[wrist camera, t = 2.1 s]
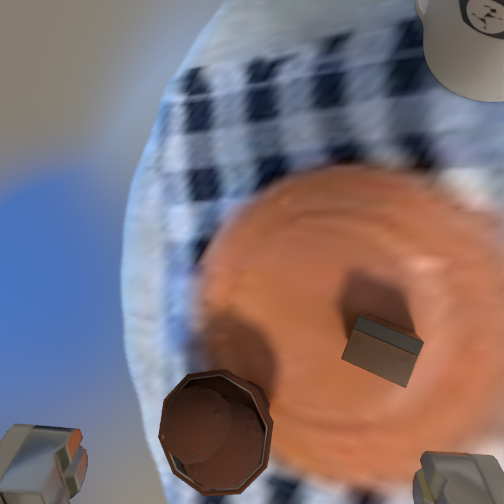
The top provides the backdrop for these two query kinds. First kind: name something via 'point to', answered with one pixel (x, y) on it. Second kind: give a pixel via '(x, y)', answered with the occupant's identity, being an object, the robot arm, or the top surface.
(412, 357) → the eraser
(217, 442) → the ice cream bowl
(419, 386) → the top surface
